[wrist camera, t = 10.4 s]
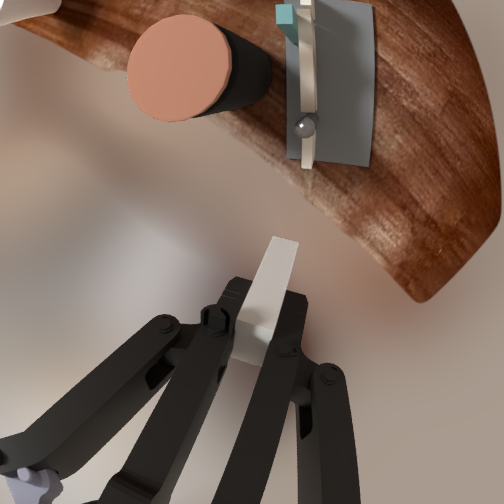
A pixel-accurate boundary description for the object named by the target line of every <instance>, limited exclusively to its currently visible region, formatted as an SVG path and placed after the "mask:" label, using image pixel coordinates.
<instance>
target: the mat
mask: <svg viewBox="0 0 504 504" xmlns="http://www.w3.org/2000/svg"><path fill="white" fill-rule="evenodd" d="M284 4H292V5H293V7H294V9H295V11H296V13H297V9H302V7H301V4H300V0H284ZM314 7H315V20H314V25H315V43H316V67H317V110H316V111H315V112H314V113H315V114H316V115H317V116H318V117H319V123H318V125H317V127H316V142H315V158H314V161H324V162H333V163H342V164H350V165H357V166H364V167H369V160H370V150H371V139H372V126H373V109H374V77H375V61H374V29H373V14H372V4H369V3H362V2H355V1H346V0H314ZM286 75H287V157H286V158H290V159H302V138H300V137H299V136H297V135H296V133H295V131H294V126H295V124H296V122H297V121H299V120H300V119H301V118H303V117H304V116H305V115H307V114H308V113H313V112H301V93H300V60H299V43H292V42H291V41H290V40H289V39H288V37H287V36H286Z"/></svg>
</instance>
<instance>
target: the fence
mask: <svg viewBox="0 0 504 504" xmlns="http://www.w3.org/2000/svg"><path fill="white" fill-rule="evenodd" d="M300 4H301V7H302V9H310V10H311V13H312V17H313V20H315V7H314V0H300ZM315 142H316V129H315V131H314V133H313V135H312V136H311V137H309V138H302V165H301V168H305V169H312V165H313V162H314V158H315Z"/></svg>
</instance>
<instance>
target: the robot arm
mask: <svg viewBox="0 0 504 504" xmlns="http://www.w3.org/2000/svg"><path fill="white" fill-rule="evenodd" d="M298 244H299V243H298V242H294V241H290V240H287V239H283V238H279V237H275V236H273V237H272V239H271V242H270V244H269V246H268V249H267V251H266V253H265V255H264V258H263V260H262V262H261V265H260V267H259V269H258V271H257V274H256V276H255V278H254V281H251V280H247V279H244V278H240V277H237V276H236V277H235V278H233V279H232V280H230V281H229V282H228V284H227V286H226V288H225V290H224V291H223V293H222V296H221V297H220V299H219V300H218V302H217V304H213V305H209V306H206V307H204V308H203V309H202V311H201V323H199V324H180V323H179V321H178V320H177V319H176V318H175V317H174V316H171V315H167V314H162V315H158V316H156V317H154V318H153V319H152V320H150V321H149V322H148V323H147V324H146V325H145V326H143V327H142V328H141V329H140V330H139V331H138V332H136V333H135V334H134V335H133V336H132V337H131V338H129V339H128V340H127V341H126V342H125V343H124V344H122V345H121V346H120V347H119V348H118V349H117V350H115V352H113V353H112V354H111V355H110V356H109V357H108V358H107V359H105V360H104V361H103V362H102V363H101V364H99V365H98V366H97V367H96V368H95V369H94V370H93V371H91V372H90V373H89V374H88V375H87V376H86V377H85V378H84V379H82V380H81V381H80V382H79V383H78V384H77V385H75V386H74V387H73V388H72V389H71V390H70V391H69V392H68V393H66V394H65V395H64V396H63V397H62V398H61V399H60V400H59V401H57V402H56V403H55V404H54V405H53V406H52V407H51V408H50V409H49V410H47V411H46V412H45V413H44V414H43V415H42V416H41V417H40V418H38V419H37V420H36V421H35V422H34V423H33V424H32V425H31V426H30V427H28V428H27V429H26V430H25V431H24V432H21V433H18V434H15V435H12V436H8V437H5V438H1V439H0V474H1V475H4V476H5V479H6V481H7V484H8V486H9V489H10V491H11V494H12V496H13V498H14V500H15V503H16V504H52V501H53V500H54V499H55V498H56V497H57V496H59V495H60V493H61V492H62V491H63V485H62V483H61V482H60V480H62V479H65V478H67V477H69V476H71V475H72V474H74V473H75V472H77V471H78V470H79V469H80V468H82V467H83V466H84V465H85V464H86V463H87V462H88V461H89V460H90V459H91V458H92V457H93V456H94V455H95V454H96V453H97V452H98V451H99V450H100V449H101V448H102V447H103V446H104V445H105V444H106V443H107V442H108V441H110V439H111V438H112V437H113V436H115V434H116V433H117V432H118V431H120V430H121V429H122V427H124V425H126V423H128V422H129V421H130V420H131V419H132V418H133V416H134V415H135V414H136V413H137V412H138V411H139V410H140V409H141V408H142V407H143V406H144V405H145V404H146V403H147V402H148V401H149V400H150V399H151V398H152V397H153V396H154V395H155V394H156V393H157V392H158V391H159V390H160V389H161V388H162V387H163V386H164V385H165V384H166V382H168V380H169V379H170V378H171V379H170V381H169V383H168V385H167V386H166V389H165V390H164V392H163V394H162V396H161V397H160V399H159V401H158V403H157V405H156V407H155V409H154V410H153V412H152V414H151V416H150V418H149V419H148V421H147V423H146V425H145V427H144V429H143V430H142V433H141V434H140V436H139V438H138V440H137V442H136V443H135V445H134V447H133V449H132V451H131V453H130V455H129V456H128V459H127V460H126V462H125V464H124V466H123V467H122V469H121V470H120V471H119V472H118V473H117V474H115V475H113V476H112V478H111V479H110V480H109V482H108V483H107V485H106V487H105V489H104V491H103V493H102V494H101V496H100V498H99V500H94V501H90V502H87V503H83V504H169V502H170V498H171V494H172V492H173V489H174V487H175V485H176V483H177V480H178V479H179V476H180V474H181V472H182V470H183V467H184V465H185V463H186V461H187V459H188V456H189V454H190V452H191V450H192V447H193V445H194V443H195V440H196V438H197V436H198V434H199V432H200V429H201V427H202V424H203V422H204V420H205V418H206V415H207V413H208V411H209V408H210V406H211V404H212V401H213V399H214V396H215V394H216V392H217V390H218V387H219V385H220V383H221V380H222V378H223V376H224V373H225V371H226V368H227V364H228V359H229V357H230V355H231V357H232V358H235V359H238V360H241V361H244V362H247V363H251V364H254V365H257V366H261V370H260V373H259V376H258V379H257V382H256V385H255V388H254V391H253V394H252V397H251V400H250V403H249V405H248V408H247V411H246V414H245V417H244V420H243V422H242V425H241V428H240V431H239V434H238V437H237V439H236V442H235V444H234V447H233V450H232V452H231V455H230V458H229V461H228V463H227V465H226V468H225V471H224V473H223V476H222V478H221V481H220V483H219V486H218V488H217V491H216V493H215V496H214V498H213V500H212V503H211V504H260V502H261V499H262V496H263V493H264V490H265V486H266V484H267V480H268V477H269V474H270V471H271V467H272V464H273V461H274V457H275V454H276V451H277V447H278V444H279V440H280V436H281V433H282V429H283V426H284V422H285V418H286V414H287V410H288V406H289V402H290V401H292V402H294V403H295V407H296V430H297V431H296V432H297V464H298V465H297V469H298V504H361V501H360V486H359V475H358V466H357V456H356V447H355V439H354V432H353V424H352V417H351V411H350V405H349V397H348V391H347V386H346V380H345V376H344V373H343V371H342V370H341V369H340V368H339V367H338V366H336V365H335V364H331V363H323V364H320V365H318V364H316V363H315V362H313V361H311V360H310V359H308V358H307V357H306V356H305V355H304V353H303V352H302V349H301V339H302V334H303V329H304V324H305V319H306V314H307V308H308V301H307V298H306V296H305V295H303V294H299V293H295V292H292V291H288V290H286V288H287V285H288V281H289V278H290V274H291V270H292V267H293V263H294V259H295V255H296V252H297V248H298Z"/></svg>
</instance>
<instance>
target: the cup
mask: <svg viewBox="0 0 504 504" xmlns="http://www.w3.org/2000/svg"><path fill="white" fill-rule="evenodd" d="M61 3H62V0H0V26H4V25H7V24H10V23H13V22H17V21H20V20H24V19H28V18H32V17H36V16H41V15H46V14H51V13H55V12H56V11H57V10H58V9H59V7H60V5H61Z"/></svg>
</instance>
